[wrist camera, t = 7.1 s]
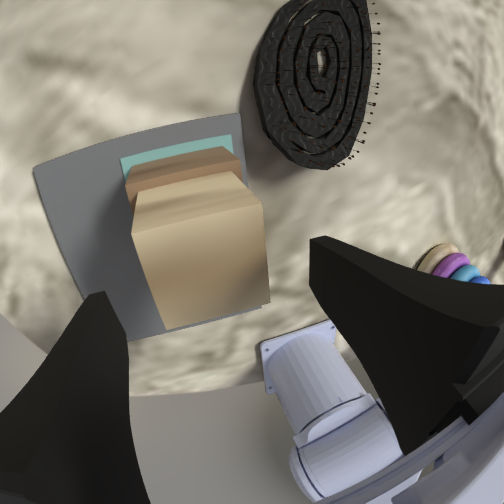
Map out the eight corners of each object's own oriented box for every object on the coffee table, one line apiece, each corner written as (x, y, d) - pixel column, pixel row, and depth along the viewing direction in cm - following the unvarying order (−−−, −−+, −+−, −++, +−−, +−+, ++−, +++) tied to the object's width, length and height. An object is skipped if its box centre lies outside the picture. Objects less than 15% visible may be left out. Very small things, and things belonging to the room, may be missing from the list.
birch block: (241, 251, 16) (270, 302, 12) (160, 271, 15) (166, 330, 11) (231, 170, 13) (261, 203, 10) (138, 192, 13) (131, 233, 9)
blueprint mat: (259, 304, 24) (262, 308, 24) (110, 341, 22) (110, 346, 21) (237, 112, 16) (240, 113, 16) (35, 166, 14) (32, 168, 13)
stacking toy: (405, 307, 32) (501, 414, 17) (411, 256, 28) (537, 375, 12) (447, 279, 33) (539, 368, 18) (455, 230, 29) (570, 323, 13)
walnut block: (233, 226, 19) (251, 257, 16) (153, 246, 18) (154, 281, 15) (222, 145, 17) (240, 159, 13) (132, 166, 15) (124, 185, 12)
